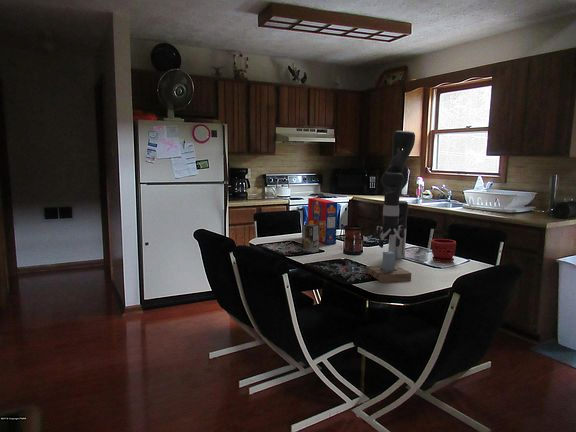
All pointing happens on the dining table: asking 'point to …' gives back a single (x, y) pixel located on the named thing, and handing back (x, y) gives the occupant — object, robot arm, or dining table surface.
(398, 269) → the socket block
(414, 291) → the dining table surface
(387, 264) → the peg
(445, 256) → the plant pot
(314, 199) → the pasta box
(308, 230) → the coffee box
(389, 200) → the robot arm
